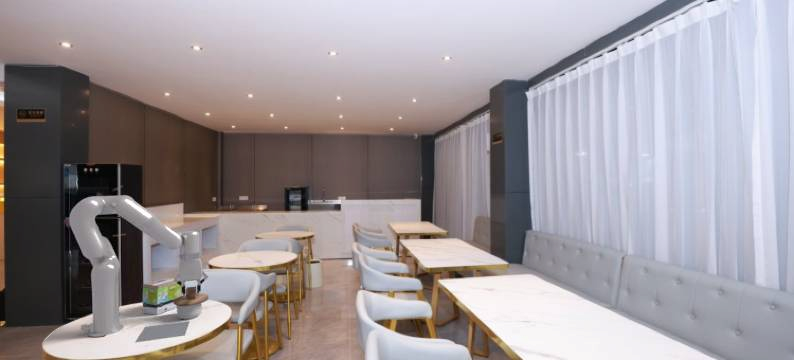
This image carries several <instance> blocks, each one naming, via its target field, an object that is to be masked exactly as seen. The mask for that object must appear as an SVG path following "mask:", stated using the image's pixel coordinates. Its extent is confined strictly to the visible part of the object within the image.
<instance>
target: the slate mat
mask: <svg viewBox="0 0 794 360" xmlns="http://www.w3.org/2000/svg"><path fill="white" fill-rule="evenodd" d="M190 323H191V322H190V321H189V320H188V321H187V320H186V321H179V322H172V323H165V324H159V325H158V324H157V325H148V326H144V328H143V329H142V331H141V333H140V334H139V336H138V337H137V339H136V340H135V343H140V342H142V343H143V342H148V341H154V340H162V339H168V338H169V339H170V338H176V337H177V338H178V337H185V336H186V333H187V332H188V331H187V330H188V327H189V324H190Z"/></svg>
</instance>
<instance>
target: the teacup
mask: <svg viewBox="0 0 794 360" xmlns="http://www.w3.org/2000/svg"><path fill="white" fill-rule="evenodd" d="M176 306H177V308H176V313H177V317H178V318H179V319H181V320H185V321H187V320H193V319H195V318H199V315H201V314H202V311H203V310H202V303H199V304H195V305H188V306H178V305H176Z"/></svg>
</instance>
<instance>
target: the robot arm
mask: <svg viewBox="0 0 794 360" xmlns="http://www.w3.org/2000/svg"><path fill="white" fill-rule="evenodd" d="M70 211H71V212H70V213H69V219H68V221H69V225H70V226H69V227H71V230H72V233H73V235H74V237H75V240H76V242H77V244H78V246H79V248H80V250H81V253H82V255H83V257H85V259H88V260H89V261H90V263H91V265H92V270H91V273H90V277H91V278H90V279H91V295H92V296H91V297H92V300H91V301H92V322H91V323H88V324H86V323H85V324H81V326H80V330H82V331H88V333H87V335H88V336H89V337H93V338H99V337H106V336H107V335H108V336H109V335H112V334H115V333H118V332H120V331H123V330H124V326H125V325H124V324H122V323H120V282H119V281H120V279H119V276H120V274H119V272H120V267H121V265H120V261H119V258H118V256H117V255H116V253H115V250H114V249H113V248H114V247H113V246H112V244H111V242H110V241H109V239H108V238H107V237H106V236H103V235H102V233H101V231H100V228H99V226H98V224H97V223H96V219H95V218H96V217H97V216H98V215H99V216H100V215H101V216H102V215H115V214H116V215H119V216H120V217H121V218H122V219H124V220H126V221H127V222H129V223H130V224H132V225H133V226H134V227H135V228H137V229H139V230H140V231H142V232H143V233H145V235H147V236H149V237H150V238H152V239H153V240H154V241H156V242H157V243H159V244H160V245H161V246H163V247H164V248H166V249H168V250H170V251H171V250H177V249H179V248H180V247H181V254H178V259H180V261H179V267H178V274H177V275H176V276H175V277H174V278H175V279H174V280H173V281H174V282H176V283H177V284H179V285H180V286H181V287H182V296H184V295H186V285H185V283H186V282H190V281H191V282H192V281H196V282H197V286H196V294H200V292H201V290H202V288H201V287H202V284H203V283H205V281H206V280H207V279H208V278H209V275H208V274H206V273H205V271H203V263H202V259H201V257H200V233H199V231H197V230H187V231H186V230H185V231H173V230H172V229H171V228H169V227H168V226H167V225H165V224H164V223H163V222H162V221H161V220H160V219H159V218H158V217H157V216H156V215H155V214H154V213H153V212H151V211H149V210H148V209H146V208H145V207H144V206H142V205H141V204H140V203H138V202H137V201H135V199H134V198H133V197H131V196H129V195H125V194H123V195H106V196H105V195H99V196H98V195H97V196H94V195H93V196H88V197H86V198H83V199H81V200H80V201H79V202H78V203H77V204H75V206H74V207H73V208H72V209H71V210H70ZM178 279H179V280H178ZM181 281H182V282H181Z"/></svg>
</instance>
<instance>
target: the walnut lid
mask: <svg viewBox="0 0 794 360" xmlns="http://www.w3.org/2000/svg"><path fill="white" fill-rule="evenodd" d="M185 292H186V293H185V295H182V296H181V297H178V298H176V299H174V304H175V305H178V306H188V305H195V304H199V303H201V304H202V303H205V302H207V301H208V300H209V295H208V294H207V293H206V294H205V293H199V294H198V293H197V286H188V287H186V288H185Z"/></svg>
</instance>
